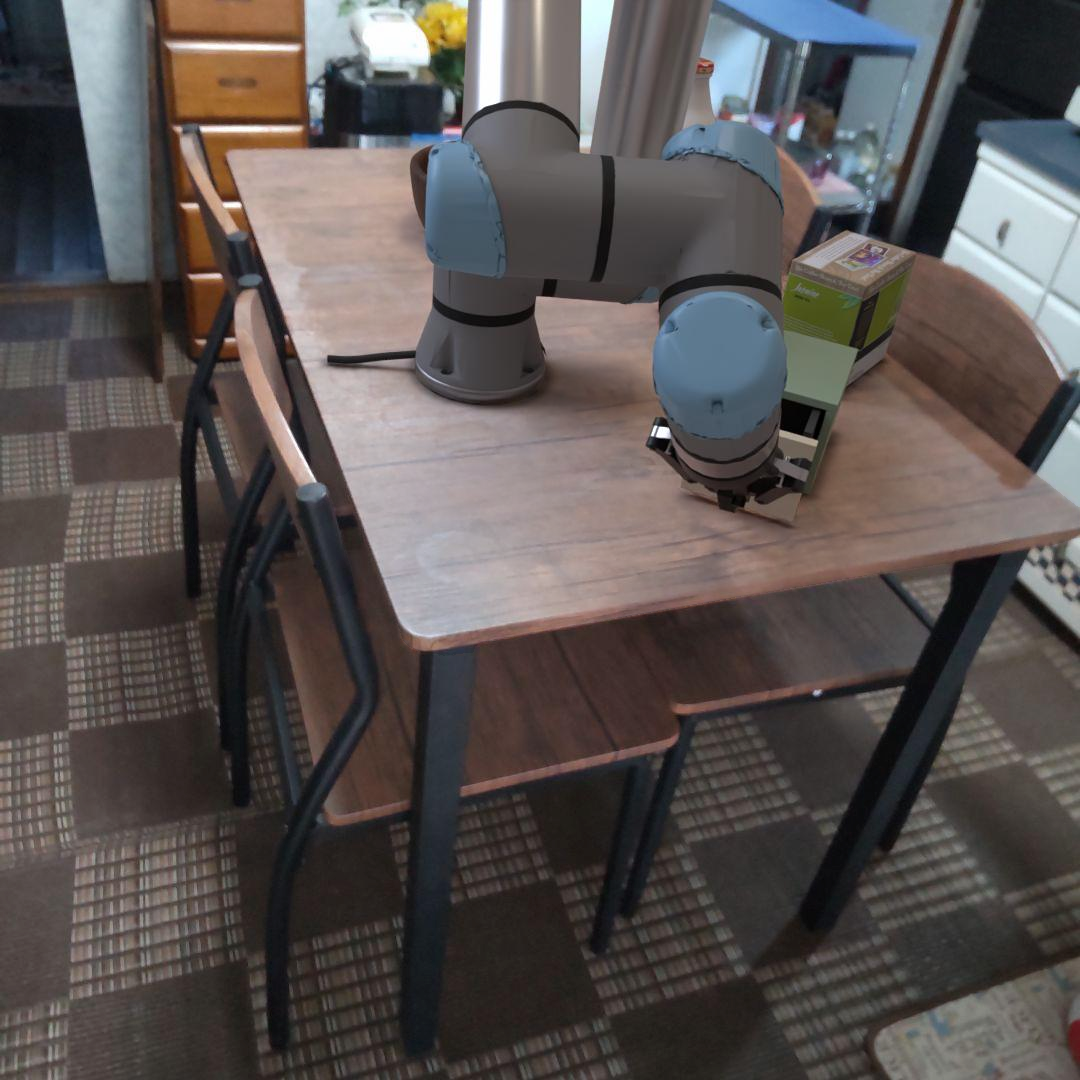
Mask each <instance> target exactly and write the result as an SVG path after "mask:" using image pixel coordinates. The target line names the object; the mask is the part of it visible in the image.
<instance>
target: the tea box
mask: <svg viewBox="0 0 1080 1080" xmlns="http://www.w3.org/2000/svg"><path fill="white" fill-rule="evenodd" d="M917 254H918V252H916V251H913V250H910V249H908V248H904V247H900V246H897V245H894V244H891V243H888V242H885V241H881V240H879V239H876V238H875V239H874V238H872V237H869V236H866V235H864V234H863V235H862V234H859V233H857V232H854V231H850V230H849V229H846V230H844V231H842V232H839V234H836V235H834V236H833V237H831V238H829V239H828V240H826V241H824V242H822V243H821V244H819V245H817V246H815V247H813V248H812V249H810V250H808V251H806V252H804V253H802V254H801V255H799V256H798V257H796V258H795V257H794V258H793V259H792V261H791V263H790V266H789V270H788V275H787V278H786V283H785V287H784V292H783V294H782V303H783V317H784V330H787V331H791V332H795V333H798V334H802V335H806V336H810V337H814V338H818V339H821V340H825V341H829V342H833V343H837V344H841V345H845V346H848V347H852V348H856V349H858V352H857V355H856V358H855V361H854V364H853V367H852V371H851V374H850V377H849V380H848V383H847V386H846V387H848V386H849V385H850V384H851V383H853V382H854V381H855V380H857V379H858V378H859V377H861V376H863V374H865V373H866V372H867V371H869V370H870V369H871V368H873V367H874V366H875V365H877V364H878V363H879V362H881V361H882V360H883V359H884V358H885V357H886V354H887V351H888V347H889V345H890V342H891V339H892V334H893V331H894V328H895V326H896V322H897V319H898V316H899V312H900V309H901V306H902V303H903V301H904V296H905V294H906V290H907V287H908V283H909V280H910V277H911V274H912V271H913V268H914V264H915V261H916V257H917Z"/></svg>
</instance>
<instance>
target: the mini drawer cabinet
mask: <svg viewBox="0 0 1080 1080" xmlns="http://www.w3.org/2000/svg"><path fill="white" fill-rule="evenodd" d="M784 343H785V344H786V349H787V364H786V367H787V370H788V376H787V382H786V387H785V389H784V390H783V393H782V398H784V399H787V400H791V401H794V402H798V403H802V404H805V405H809V406H813V407H816V408H820V409H823V412H822V415H821V418H820V421H819V424H818V428H817V431H816V434H815V437H814V440H818V444H817V448H816V451H815V454H814V457H813V460H812V466H811V469H810V472H809V475H808V478H807V481H806V484H805V487H804V490H803V493H802V494H807V495H810V494H811V491H812V488H813V486H814V483H815V480H816V477H817V474H818V472H819V469H820V466H821V463H822V460H823V458H824V455H825V452H826V449H827V446H828V443H829V440H830V438H831V435H832V432H833V429H834V426H835V423H836V421H837V420H836V419H837V417H838V414H839V410H840V407H841V404H842V401H843V398H844V395H845V392H846V389H847V387H848V386H847V383H848V380H849V377H850V374H851V371H852V367H853V364H854V361H855V358H856V355H857V352H858V349H856V348H852V347H848V346H845V345H841V344H837V343H833V342H829V341H825V340H821V339H818V338H814V337H810V336H806V335H802V334H798V333H795V332H791V331H787V330H784Z"/></svg>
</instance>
